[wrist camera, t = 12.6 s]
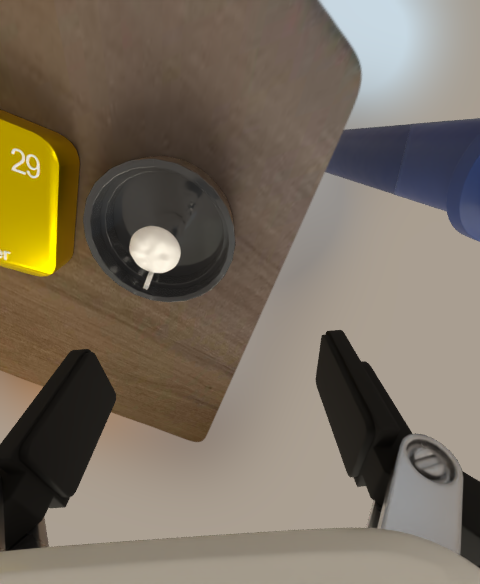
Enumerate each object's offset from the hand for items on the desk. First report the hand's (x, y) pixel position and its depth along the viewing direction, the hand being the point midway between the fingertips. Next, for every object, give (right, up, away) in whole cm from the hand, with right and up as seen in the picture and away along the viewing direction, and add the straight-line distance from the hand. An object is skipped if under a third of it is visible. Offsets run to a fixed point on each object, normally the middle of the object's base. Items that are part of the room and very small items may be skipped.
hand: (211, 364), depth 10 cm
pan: (-7, +11, +20) cm, 24 cm away
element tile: (-25, +15, +17) cm, 33 cm away
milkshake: (-7, +11, +20) cm, 24 cm away
